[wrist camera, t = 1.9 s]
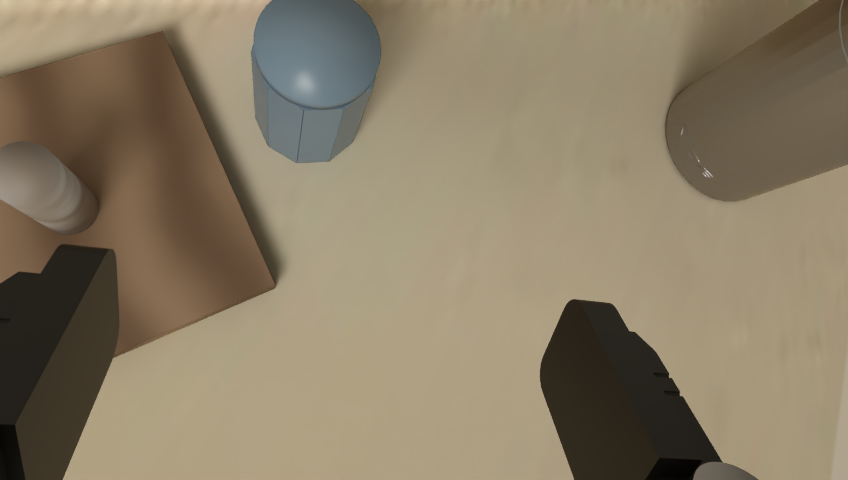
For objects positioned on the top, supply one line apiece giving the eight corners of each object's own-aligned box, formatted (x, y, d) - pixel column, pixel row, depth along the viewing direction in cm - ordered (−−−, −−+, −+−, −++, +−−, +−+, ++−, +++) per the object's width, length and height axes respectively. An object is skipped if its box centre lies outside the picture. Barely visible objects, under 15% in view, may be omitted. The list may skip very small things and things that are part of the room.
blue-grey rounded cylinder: (331, 55, 39) (348, -30, 31) (373, 144, 39) (402, 82, 30) (240, 85, 38) (231, 3, 29) (282, 178, 37) (286, 123, 28)
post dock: (166, 43, 37) (139, -39, 29) (275, 288, 36) (276, 268, 28) (-140, 133, 32) (-267, 63, 25) (-27, 418, 31) (-124, 436, 23)
